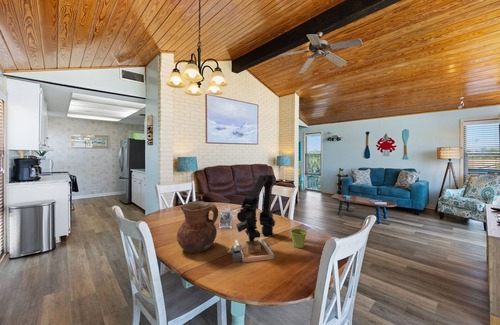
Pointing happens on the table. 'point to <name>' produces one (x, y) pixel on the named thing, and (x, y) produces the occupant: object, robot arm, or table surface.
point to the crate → (253, 246)
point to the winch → (236, 253)
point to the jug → (197, 226)
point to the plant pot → (298, 237)
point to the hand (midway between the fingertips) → (250, 244)
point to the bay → (257, 258)
